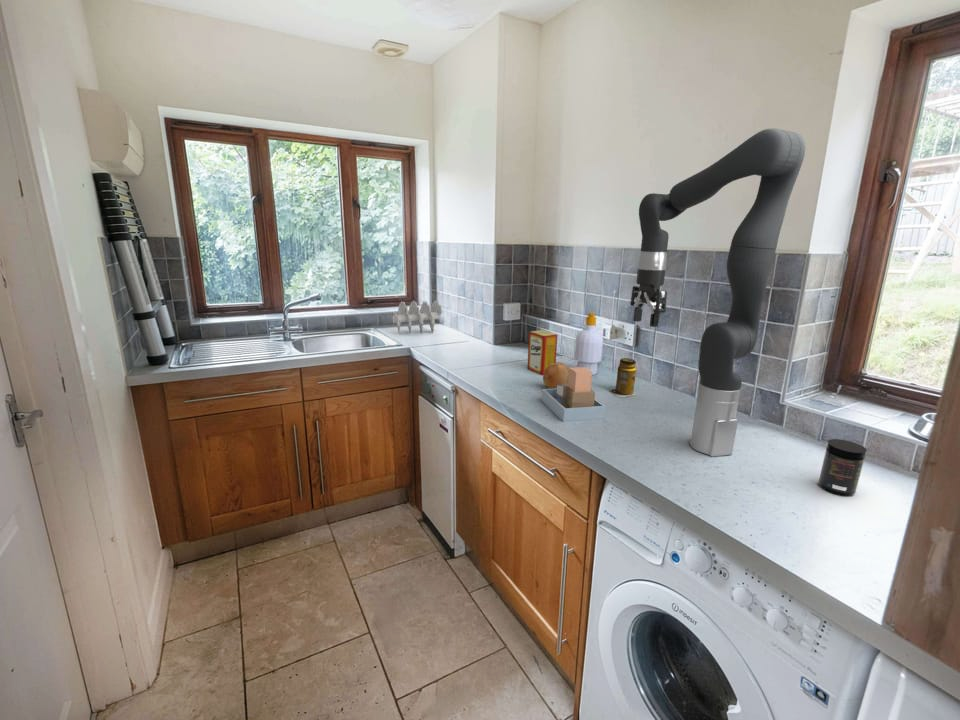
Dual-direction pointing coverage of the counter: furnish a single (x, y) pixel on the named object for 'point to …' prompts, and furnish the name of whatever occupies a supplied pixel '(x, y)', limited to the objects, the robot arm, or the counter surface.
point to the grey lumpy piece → (417, 314)
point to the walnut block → (577, 398)
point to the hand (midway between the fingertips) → (645, 323)
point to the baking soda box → (541, 350)
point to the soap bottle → (589, 345)
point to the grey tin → (560, 392)
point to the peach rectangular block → (580, 379)
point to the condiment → (625, 378)
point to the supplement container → (842, 467)
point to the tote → (572, 413)
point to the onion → (555, 375)
